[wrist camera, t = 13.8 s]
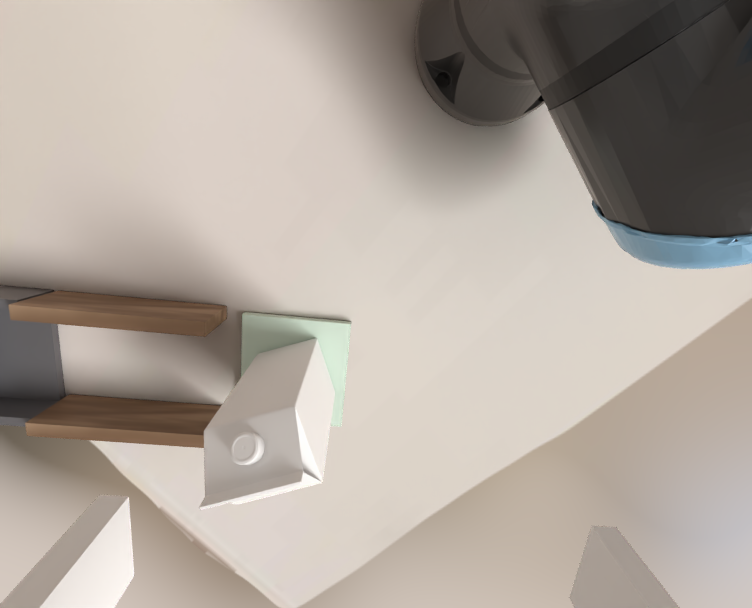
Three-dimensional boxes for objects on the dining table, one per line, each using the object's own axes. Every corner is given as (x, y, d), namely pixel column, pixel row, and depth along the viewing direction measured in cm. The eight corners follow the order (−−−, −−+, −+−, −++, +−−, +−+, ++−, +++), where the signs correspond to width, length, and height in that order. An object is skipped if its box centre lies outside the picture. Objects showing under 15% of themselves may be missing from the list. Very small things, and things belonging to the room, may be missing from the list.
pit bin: (-25, 282, 40) (-71, 292, 36) (53, 290, 41) (16, 300, 37) (-6, 400, 44) (-46, 421, 40) (66, 405, 44) (34, 427, 40)
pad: (244, 311, 42) (242, 314, 41) (351, 321, 43) (350, 324, 42) (242, 414, 46) (240, 419, 45) (341, 422, 46) (341, 426, 45)
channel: (58, 290, 41) (8, 304, 35) (226, 305, 42) (205, 322, 36) (70, 405, 44) (27, 435, 39) (225, 417, 46) (206, 447, 40)
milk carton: (335, 392, 44) (317, 524, 26) (277, 407, 44) (218, 549, 26) (317, 336, 42) (283, 437, 24) (257, 353, 43) (178, 465, 24)
